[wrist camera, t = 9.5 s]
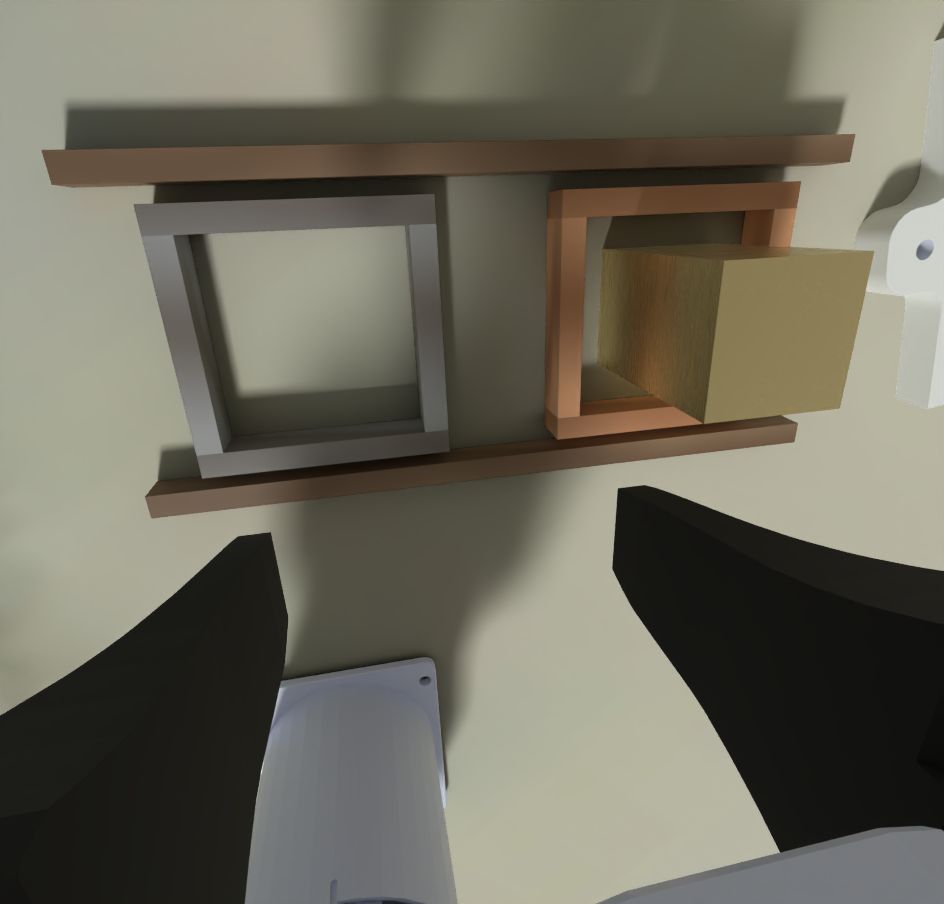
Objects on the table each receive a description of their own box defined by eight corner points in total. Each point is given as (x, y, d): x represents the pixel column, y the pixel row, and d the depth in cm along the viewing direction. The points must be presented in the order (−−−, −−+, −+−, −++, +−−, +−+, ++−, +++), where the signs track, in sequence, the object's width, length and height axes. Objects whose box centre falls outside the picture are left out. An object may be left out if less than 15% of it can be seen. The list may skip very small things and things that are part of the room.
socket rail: (773, 432, 23) (799, 444, 22) (162, 502, 19) (148, 522, 18) (826, 139, 19) (863, 132, 18) (64, 155, 15) (35, 148, 14)
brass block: (695, 353, 21) (839, 408, 15) (597, 363, 21) (703, 423, 14) (707, 243, 20) (874, 251, 13) (602, 249, 19) (724, 260, 13)
